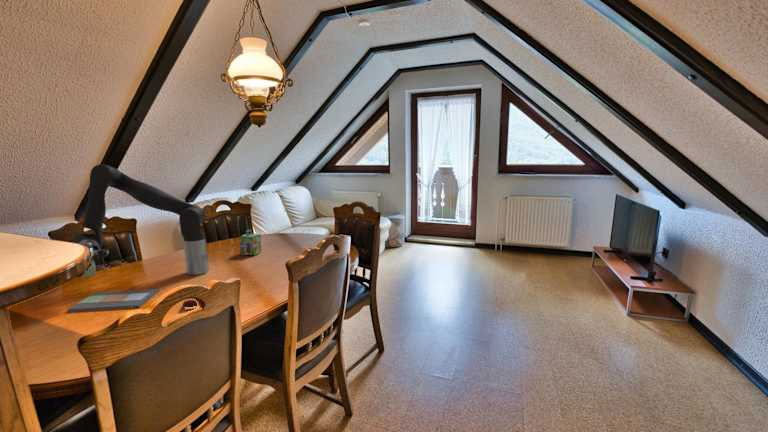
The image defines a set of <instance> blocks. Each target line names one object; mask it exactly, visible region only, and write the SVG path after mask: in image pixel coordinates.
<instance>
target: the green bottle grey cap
mask: <svg viewBox="0 0 768 432" xmlns="http://www.w3.org/2000/svg"><path fill="white" fill-rule="evenodd" d="M79 244H82V245H85V246H87V247H88V248H89V249H90V252H91V259H92V261H91V266H90V267H89V268H88V270H87V271H86V272H85V273H84V274H82V277H84V278H88V277H89V278H90V277H94V276H95V275H97V270H96V263H95V262H96V261H94V258H93V255H94V254H93V247H92V242H83V243H79Z"/></svg>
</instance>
